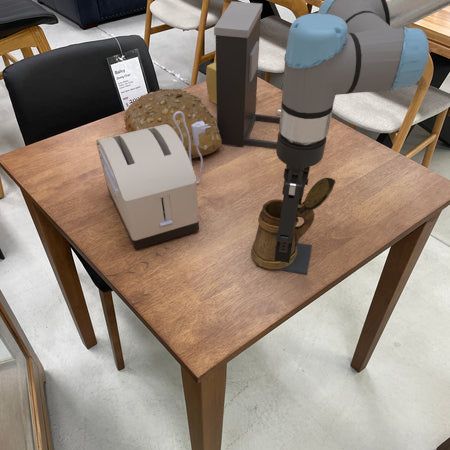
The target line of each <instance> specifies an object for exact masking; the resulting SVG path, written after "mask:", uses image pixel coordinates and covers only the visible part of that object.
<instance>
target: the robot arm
mask: <svg viewBox="0 0 450 450" xmlns="http://www.w3.org/2000/svg"><path fill="white" fill-rule="evenodd" d="M447 7H450V0H323V2H322V3H321V5H320V6H319V9H318V11H317V12H314V13H308V14H304V15H301V16H299V17H298V18H296V19H295V20H293V22H292V24H291V25H290V28H289V31H288V37H287V41H286V49H285V53H284V59H283V60H284V70H283V81H282V94H281V102H280V103H281V105H280V108H277V110H276V112H275V114H276V116H277V117H280V123H278V133H277V141H276V142H277V149H275V150H276V152H275V153H276V157H277V158H278V160H279V161H280V162H282V163H283V164H285V168H284V172H283V180H284V181H283V187H282V191H281V192H282V193H281V194H282V195H283V197H282V200H283V202H282V209H281V215H280V221H279V228H278V233H275V232H274V235H273V236H276V240H277V244H276V252H275V261H281V262H287V263H289V262H290V256H291V249H292V243H293V237H294V233H293V231H294V226H295V220H296V214H297V209H298V205H300V204H302V203H303V201H302V200H303V197H304V192H305V187H306V186H308V185H309V174H310V169H311V167H314V166H317V164H319V163H320V162H321V161H322V160H323V158H324V154H325V150H326V149H325V148H326V143H327V136H328V134H329V132H330V131H329V130H330V126H331V119H332V114H333V110H334V103H335V100H336V99H335V97H336V96H339V95H350V94H359V93H361V94H362V93H373V92H386V91H387V92H392V91H394V90H399V89H404V88H410V87H413V86H414V85H415V84H417V83H418V82H419V81H420V79H422V77H423V75H424V73H425V71H426V66H427V64H428V61H429V53H430V52H429V51H430V48H429V47H430V46H429V40H428V37H427V35H426V33H425V31H423V30H422V29H421V28H418V27H408V26H411V25H413V24H415V23H417V22H419V21H421V20H423V19H425V18H427V17H429V16H431V15H433V14H435V13H437V12H439V11H441V10H444V9H445V8H447Z"/></svg>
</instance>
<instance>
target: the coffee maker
mask: <svg viewBox="0 0 450 450" xmlns="http://www.w3.org/2000/svg"><path fill="white" fill-rule="evenodd" d="M262 12H263V3H259V2H245V1H235V0H234V1H230V3H229V4H228V6H227V8H226V9H225V11H224V12H223V13H222V15H221V16H220V18H219V19H218V21H217V23H216V24H215V25H214V27H213V35H214V36H215V62H216V94H217V104H216V123H217V127H218V130H219V134H220V138H221V139H222V141H221V142H222V145H225V146H232V147H238V148H244V147H245V146H252V147H259V148H265V149H266V148H267V149H274V150H277V141H272V140H271V141H269V140H263V139H255V138H250V136H251V134H252V131H253V128H254V126H255V123H256V121H257V122H258V121H259V122H265V123H266V122H267V123H274V124H279V123H280V117H281V116H278V115H268V114H259V113H256V109H257V94H258V93H257V92H258V91H257V90H258V77H259V76H258V75H259V58H260V57H259V55H260V39H261V38H260V36H261V20H262V19H261V17H262Z"/></svg>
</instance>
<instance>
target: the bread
mask: <svg viewBox="0 0 450 450" xmlns="http://www.w3.org/2000/svg"><path fill="white" fill-rule="evenodd" d="M178 111H181V112H182V113H183V114H184V116H185V123H186V126H187V129H188V131H189V135H190V140H191V159H195V158H200V156H199V154H198V152H197V149H196V145H194V139H193V134H192V127H191V125H192V124H194V123H196V122H198V121H203V122H204V124H208V126H211V127H210V128H206V133H204V134H200V135H199V145H198V149H199V152H200V154H201V155H202V157H204V156H207V155H209V154H212V153H214V152H215V151H217V150H219V149H220V148H221V147H222V145H223V144H222V142H221V141H222V139H221V138H220V134H219V130H218V127H217V120H214V115H213V114H212V113H211V112H210V110H209V109H208V108H207V106H206V105H205V103H203V102H202V99H201V98H200V97H198V95H195V94H193V93H191V92H189V91H187V90H182V88H171V89H170V88H164V89H162V88H159V89H158V90H156V91H151V92H149V93H145V94H143V95H140V96H139V97H138V98H137V99H136V100H134V101H132V102H131V104H130V105H129V106H128V107H127V109H125V113H124V115H123V121H124V125H125V127H124V130H126V133H129V132H134V131H138V130H142V129H147V128H151V127H155V126H160V125H164V124H167V125H169V126H170V127H171V128H172V129H173V130H174V131H175V132H176V134H177V135H178V137H179V138H180V140H181V135H180V133H179V130H178V128H177V126H176V124H175V122H174V120H173V115H174V114H175V113H176V112H178ZM175 120H176V122H177V124H178V126H179V128H180V130H181V132H182V135H183V140H184V143H183V146H184V148H185V150H186V152H187V155H188V157H189V139H188V135H187V132H186V129H185V126H184V123H183V116H182V115H181V114H177V115H176V116H175ZM205 127H207V126H205ZM181 142H182V140H181Z"/></svg>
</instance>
